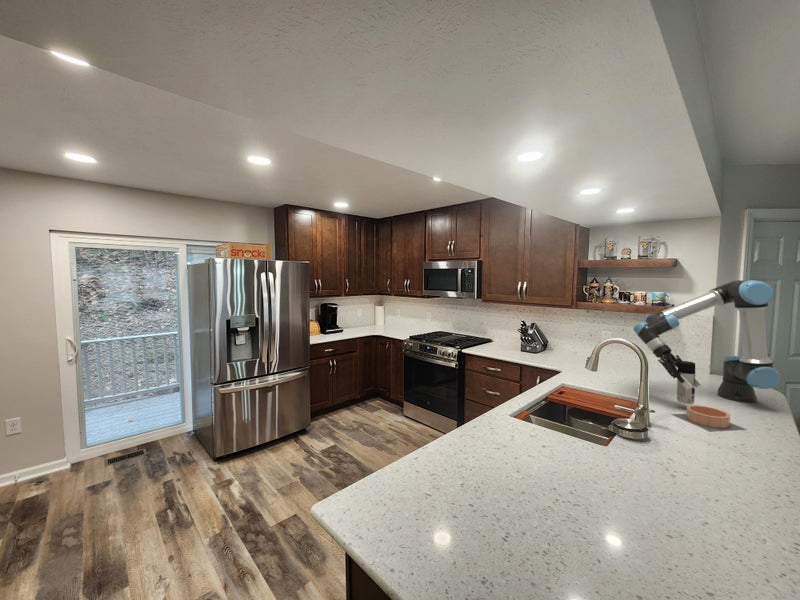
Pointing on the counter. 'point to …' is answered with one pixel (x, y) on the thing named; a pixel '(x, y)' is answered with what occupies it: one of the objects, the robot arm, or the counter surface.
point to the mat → (710, 429)
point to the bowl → (708, 416)
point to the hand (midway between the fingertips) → (694, 387)
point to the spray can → (689, 374)
